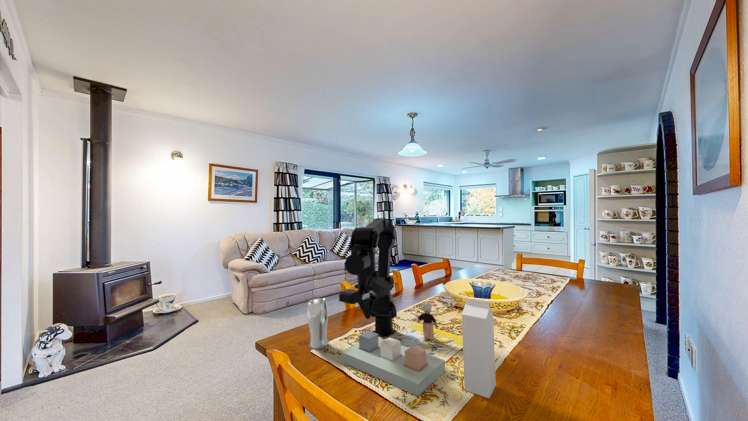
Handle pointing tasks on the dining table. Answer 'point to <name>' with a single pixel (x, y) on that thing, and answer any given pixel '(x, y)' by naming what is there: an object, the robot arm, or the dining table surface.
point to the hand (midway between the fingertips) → (367, 318)
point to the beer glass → (318, 322)
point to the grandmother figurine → (427, 323)
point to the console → (394, 368)
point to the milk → (478, 347)
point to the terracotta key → (415, 358)
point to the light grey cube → (390, 349)
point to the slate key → (368, 341)
